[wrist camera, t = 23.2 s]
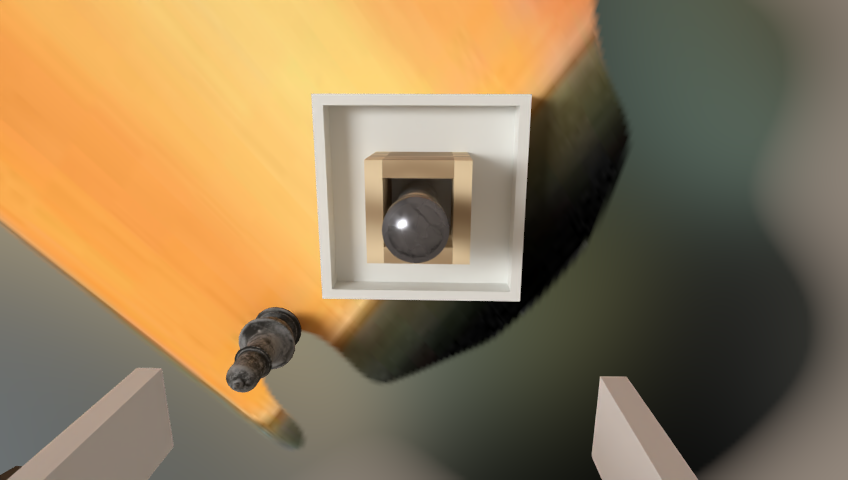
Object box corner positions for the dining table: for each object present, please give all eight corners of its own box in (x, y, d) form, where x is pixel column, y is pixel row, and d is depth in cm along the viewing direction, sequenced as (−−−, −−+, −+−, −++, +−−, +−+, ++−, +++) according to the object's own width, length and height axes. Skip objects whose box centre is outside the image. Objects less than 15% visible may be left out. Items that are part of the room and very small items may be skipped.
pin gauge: (394, 175, 49) (381, 196, 34) (442, 176, 49) (450, 197, 34) (394, 223, 50) (382, 262, 36) (441, 223, 50) (448, 263, 36)
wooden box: (376, 151, 49) (364, 159, 41) (467, 152, 48) (472, 160, 41) (377, 239, 51) (366, 263, 43) (464, 240, 51) (469, 264, 43)
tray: (319, 94, 48) (311, 93, 45) (526, 95, 47) (531, 94, 44) (329, 287, 53) (322, 298, 50) (515, 290, 53) (519, 301, 50)
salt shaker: (298, 359, 56) (260, 425, 44) (247, 345, 55) (196, 408, 44) (308, 312, 54) (273, 368, 42) (256, 298, 54) (206, 351, 42)
